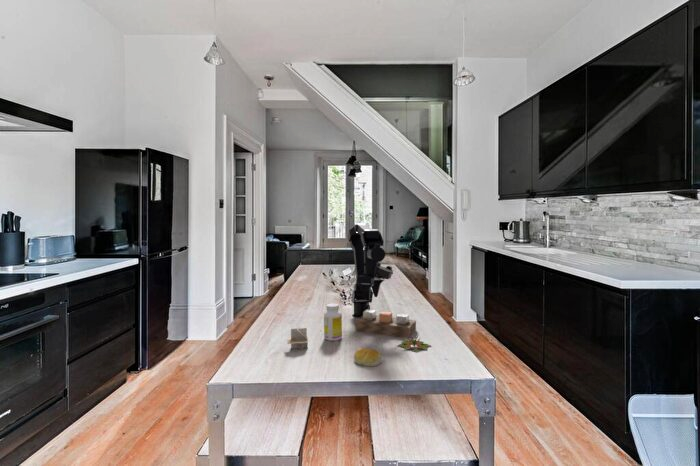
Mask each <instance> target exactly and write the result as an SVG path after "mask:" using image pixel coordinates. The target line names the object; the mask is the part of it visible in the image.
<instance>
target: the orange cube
mask: <svg viewBox="0 0 700 466" xmlns="http://www.w3.org/2000/svg"><path fill="white" fill-rule="evenodd" d="M378 316H379V322H387V323H390V322H391V321H392V318H393V312H391V311H382V312H380V313H379V314H378Z"/></svg>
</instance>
